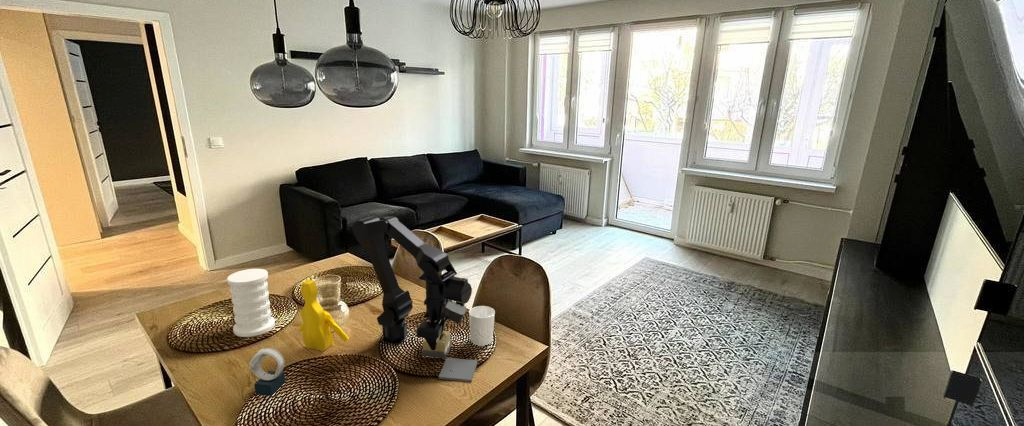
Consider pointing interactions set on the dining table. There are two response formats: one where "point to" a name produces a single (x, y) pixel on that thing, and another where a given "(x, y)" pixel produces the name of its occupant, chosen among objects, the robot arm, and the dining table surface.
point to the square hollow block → (439, 342)
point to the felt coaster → (458, 369)
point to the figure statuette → (316, 320)
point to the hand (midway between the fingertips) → (436, 343)
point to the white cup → (481, 325)
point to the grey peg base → (437, 354)
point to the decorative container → (250, 302)
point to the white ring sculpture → (270, 379)
